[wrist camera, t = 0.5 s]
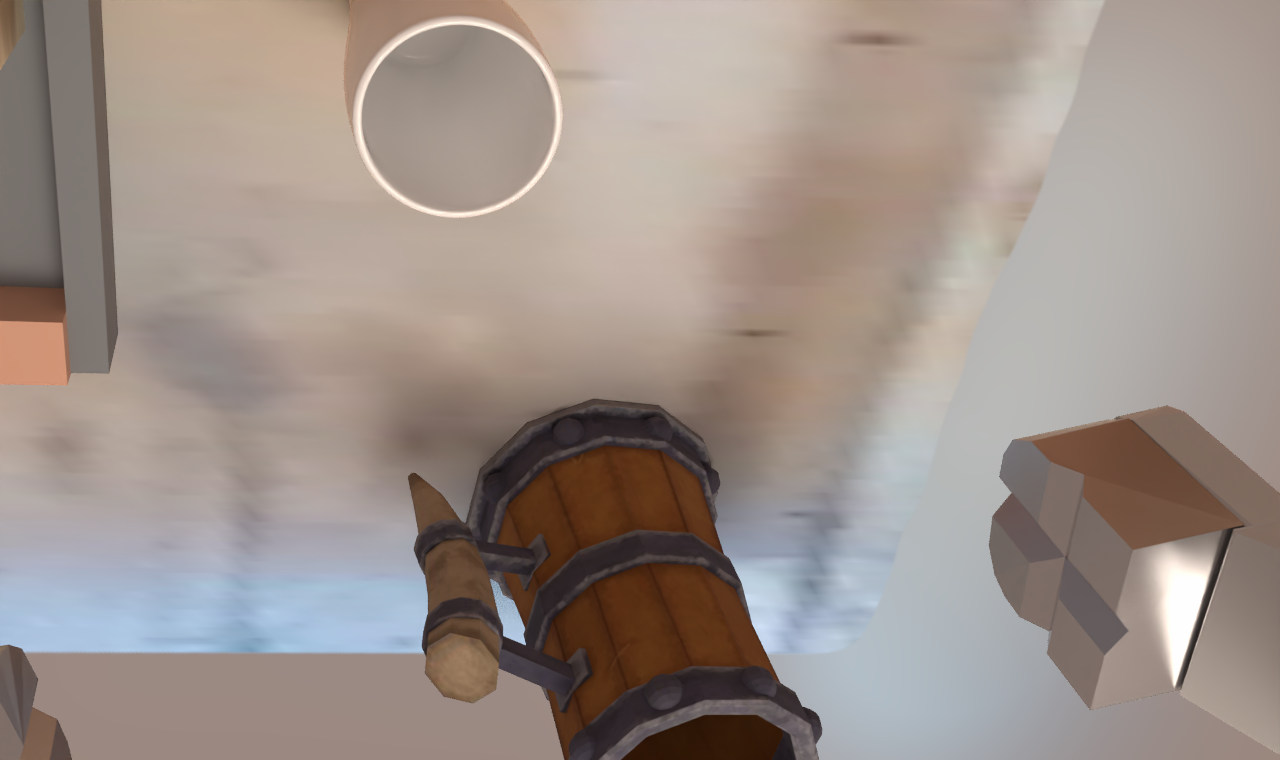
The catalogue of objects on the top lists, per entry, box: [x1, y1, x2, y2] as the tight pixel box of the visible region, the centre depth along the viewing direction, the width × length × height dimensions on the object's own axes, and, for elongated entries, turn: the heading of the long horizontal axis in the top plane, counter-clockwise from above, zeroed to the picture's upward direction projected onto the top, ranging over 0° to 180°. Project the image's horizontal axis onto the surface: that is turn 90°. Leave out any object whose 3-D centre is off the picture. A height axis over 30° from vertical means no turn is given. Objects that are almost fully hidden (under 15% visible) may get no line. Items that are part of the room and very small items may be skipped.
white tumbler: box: [344, 0, 563, 218], centre depth 42 cm, size 7×7×15 cm
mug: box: [408, 399, 822, 760], centre depth 56 cm, size 19×14×20 cm
